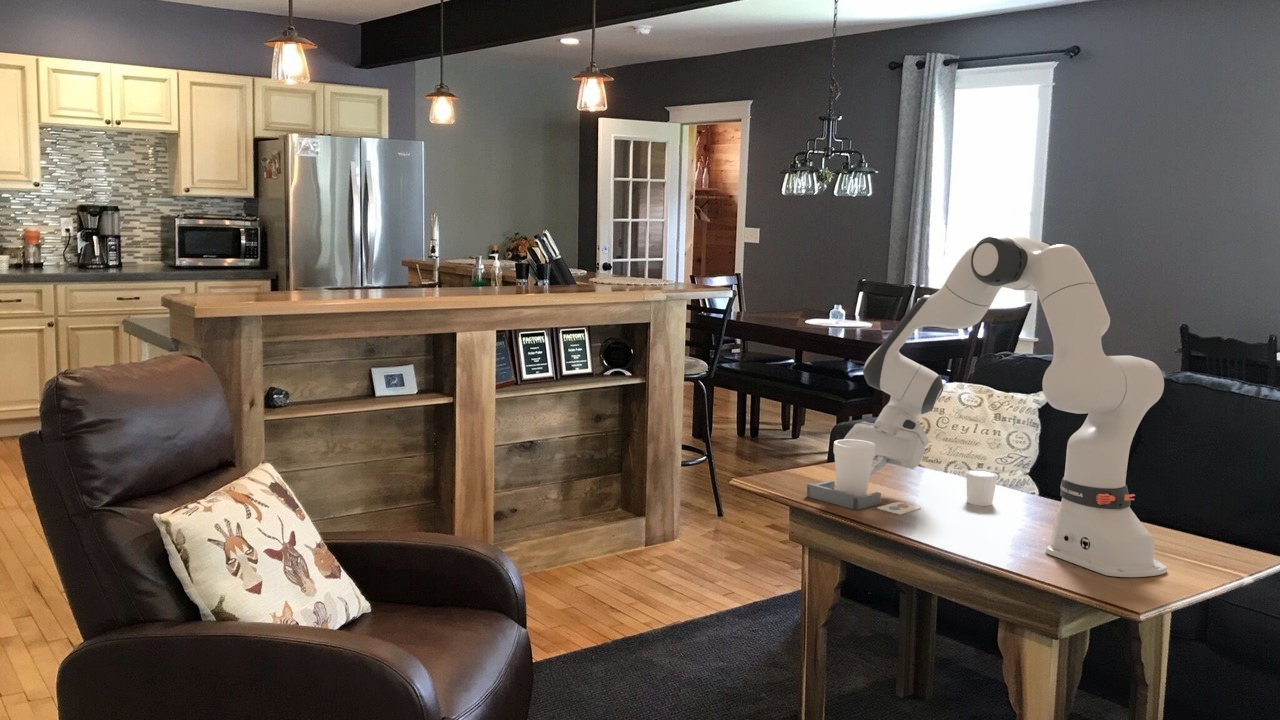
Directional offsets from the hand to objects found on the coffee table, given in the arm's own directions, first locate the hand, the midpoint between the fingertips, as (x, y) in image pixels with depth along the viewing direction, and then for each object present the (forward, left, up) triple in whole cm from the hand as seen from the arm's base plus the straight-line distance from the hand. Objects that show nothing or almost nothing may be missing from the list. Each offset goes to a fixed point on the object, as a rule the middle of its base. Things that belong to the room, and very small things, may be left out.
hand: (867, 473), depth 248 cm
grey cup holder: (-4, +8, -5) cm, 10 cm away
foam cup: (-3, +6, -5) cm, 8 cm away
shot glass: (-11, -23, -5) cm, 26 cm away
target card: (-13, -1, -5) cm, 14 cm away
